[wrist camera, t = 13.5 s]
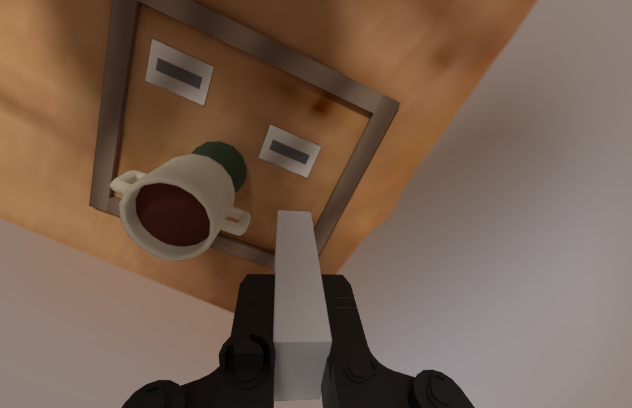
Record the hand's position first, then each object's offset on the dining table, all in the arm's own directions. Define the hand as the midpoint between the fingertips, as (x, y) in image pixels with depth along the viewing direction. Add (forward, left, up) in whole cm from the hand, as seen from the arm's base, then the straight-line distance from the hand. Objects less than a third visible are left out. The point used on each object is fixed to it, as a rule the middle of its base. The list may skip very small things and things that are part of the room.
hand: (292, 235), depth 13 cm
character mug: (-8, -7, -20) cm, 23 cm away
